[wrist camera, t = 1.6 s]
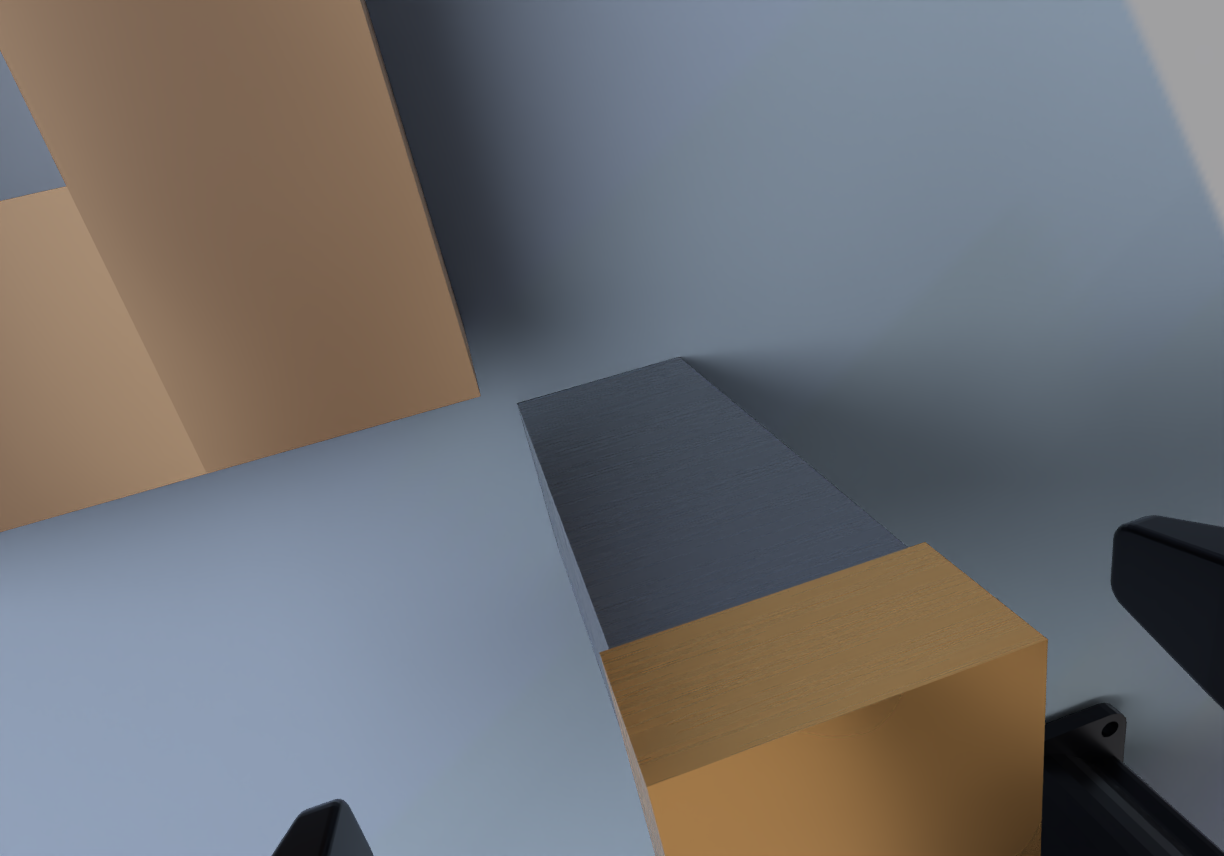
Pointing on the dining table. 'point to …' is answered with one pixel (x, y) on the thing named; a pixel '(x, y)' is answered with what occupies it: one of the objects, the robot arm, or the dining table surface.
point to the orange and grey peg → (782, 640)
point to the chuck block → (209, 247)
